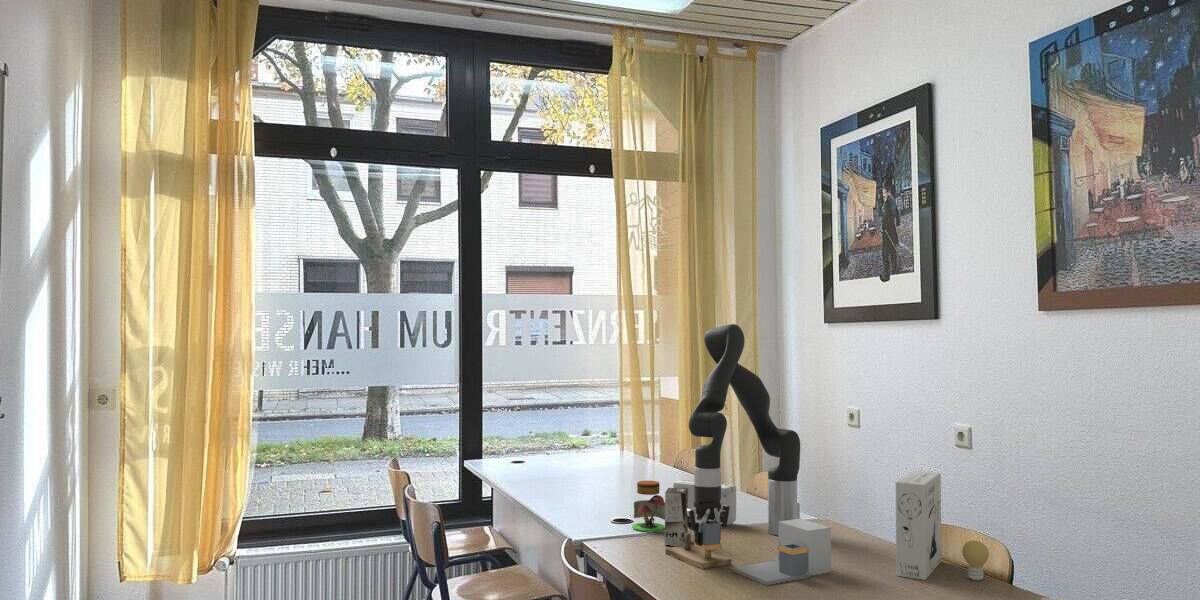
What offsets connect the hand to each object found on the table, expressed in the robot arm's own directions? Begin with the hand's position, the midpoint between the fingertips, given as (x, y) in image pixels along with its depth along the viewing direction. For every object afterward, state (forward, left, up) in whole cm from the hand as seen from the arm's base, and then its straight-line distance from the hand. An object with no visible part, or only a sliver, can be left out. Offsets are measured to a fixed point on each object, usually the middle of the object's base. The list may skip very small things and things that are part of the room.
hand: (707, 543), depth 241 cm
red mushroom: (-8, -43, -6) cm, 44 cm away
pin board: (0, -5, -5) cm, 7 cm away
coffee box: (-5, -23, -6) cm, 24 cm away
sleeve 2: (-12, +21, -4) cm, 25 cm away
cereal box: (-48, +32, -6) cm, 58 cm away
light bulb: (-53, +46, -6) cm, 71 cm away
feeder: (-13, +17, -5) cm, 22 cm away
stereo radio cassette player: (-29, -42, -6) cm, 51 cm away
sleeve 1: (0, 0, -1) cm, 1 cm away
